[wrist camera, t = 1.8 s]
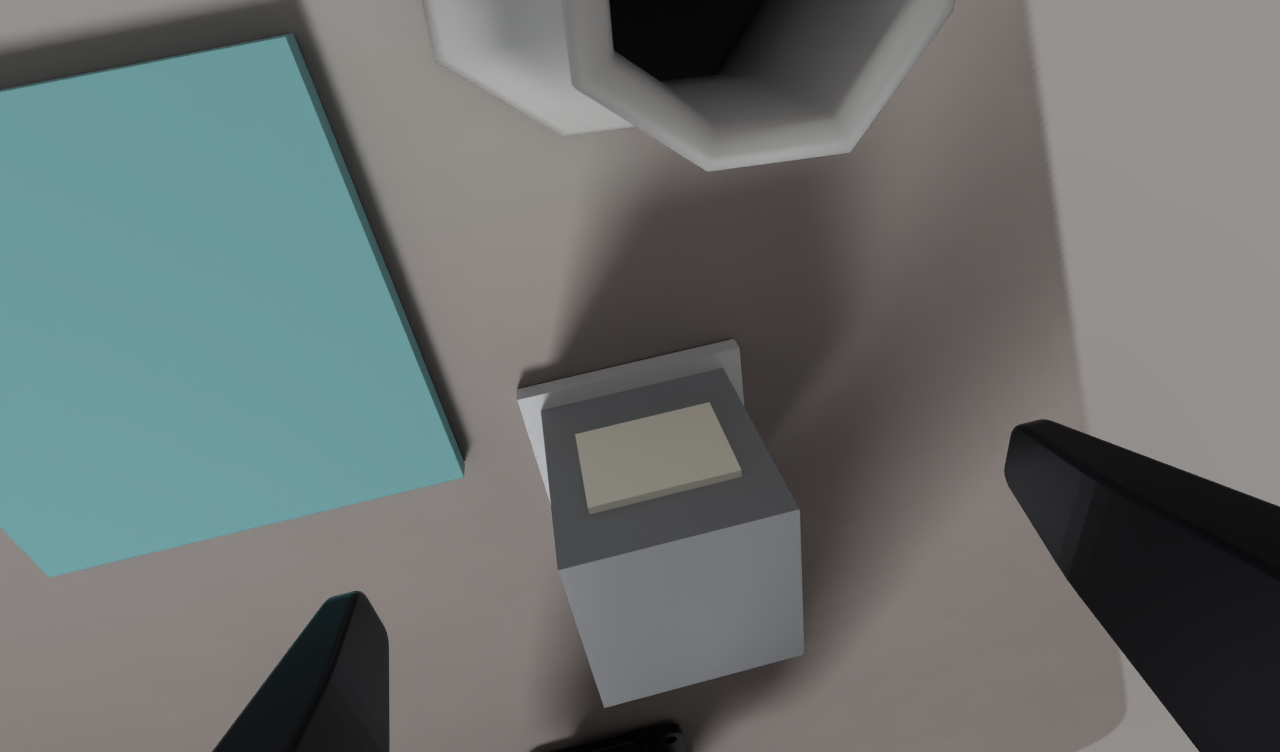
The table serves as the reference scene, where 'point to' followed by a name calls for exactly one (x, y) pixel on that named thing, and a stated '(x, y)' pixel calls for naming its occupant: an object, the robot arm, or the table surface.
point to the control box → (668, 521)
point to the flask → (693, 67)
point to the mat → (194, 313)
